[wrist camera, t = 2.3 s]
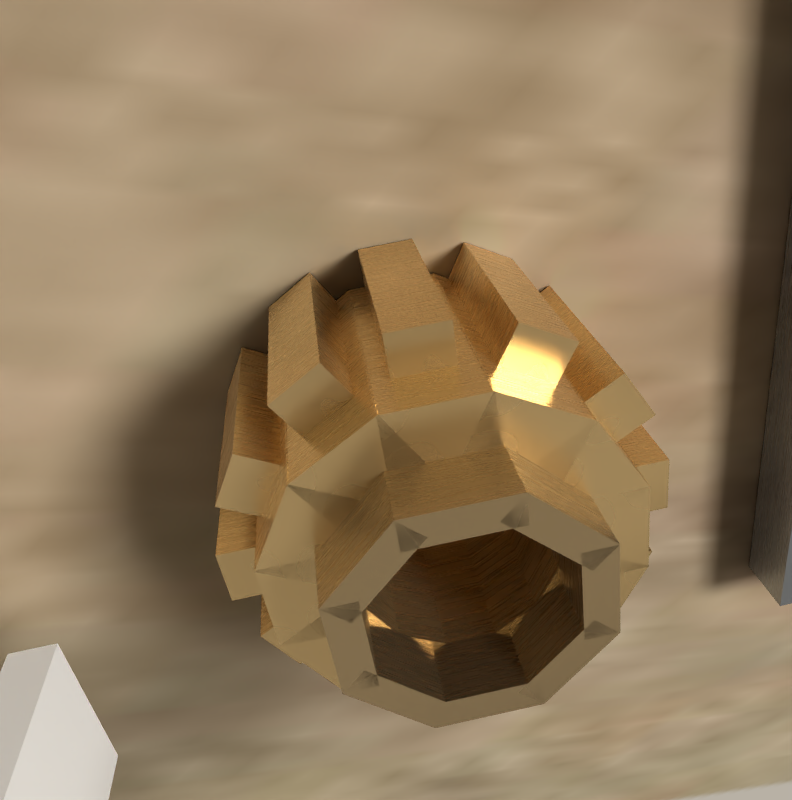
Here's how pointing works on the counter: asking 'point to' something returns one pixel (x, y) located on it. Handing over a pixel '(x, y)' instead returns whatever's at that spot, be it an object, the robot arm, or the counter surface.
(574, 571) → the gear
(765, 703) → the counter surface
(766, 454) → the carrier
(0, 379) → the counter surface
